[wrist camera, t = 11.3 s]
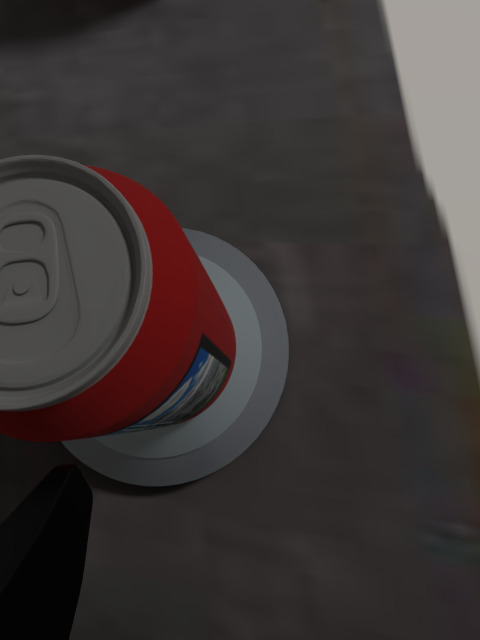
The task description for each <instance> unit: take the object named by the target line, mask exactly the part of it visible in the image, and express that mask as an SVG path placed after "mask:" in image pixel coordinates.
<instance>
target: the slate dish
mask: <svg viewBox="0 0 480 640" xmlns="http://www.w3.org/2000/svg"><path fill="white" fill-rule="evenodd" d="M182 230H183V232H184V233H185V235H186V237H187V239H188V240H189V242H190V244H191V245H192V247H193V249H194V250H195V252H196V254H197V256H198V257H199V259H200V261H201V263H202V265H203V266H204V268H205V270H206V272H207V274H208V275H209V277H210V279H211V281H212V283H213V285H214V286H215V288H216V290H217V292H218V294H219V296H220V298H221V300H222V302H223V304H224V306H225V308H226V310H227V312H228V314H229V316H230V319H231V321H232V324H233V327H234V331H235V337H236V358H235V363H234V368H233V371H232V374H231V377H230V379H229V381H228V383H227V385H226V387H225V389H224V390H223V392H222V393H221V394H220V396H219V397H218V398H217V399H216V401H215V402H214V403H213V404H212V405H211V406H210V407H209V408H207V409H206V410H205V411H204V412H202V413H201V414H199V415H198V416H196V417H194V418H192V419H190V420H188V421H185V422H182V423H179V424H176V425H171V426H166V427H161V428H156V429H150V430H144V431H137V432H131V433H124V434H117V435H110V436H102V437H94V438H85V439H77V440H68V441H61V442H62V443H63V445H64V446H65V447H66V448H67V449H68V450H69V451H70V452H71V453H72V454H73V455H74V456H75V457H77V458H78V459H79V460H80V461H81V462H82V463H84V464H85V465H87V466H89V467H90V468H92V469H93V470H95V471H96V472H98V473H101V474H103V475H105V476H107V477H109V478H112V479H115V480H118V481H121V482H125V483H128V484H135V485H141V486H169V485H176V484H182V483H186V482H189V481H193V480H197V479H200V478H202V477H204V476H206V475H209V474H211V473H213V472H215V471H217V470H219V469H220V468H222V467H224V466H225V465H227V464H229V463H230V462H232V461H233V460H234V459H235V458H237V457H238V456H239V455H240V454H242V453H243V452H244V451H245V450H246V449H247V448H248V447H249V446H250V445H251V444H252V443H253V442H254V441H255V440H256V439H257V437H258V436H259V435H260V434H261V432H262V431H263V429H264V428H265V427H266V425H267V424H268V423H269V421H270V419H271V417H272V415H273V413H274V412H275V410H276V408H277V406H278V403H279V400H280V398H281V395H282V392H283V389H284V385H285V381H286V376H287V369H288V359H289V343H288V333H287V327H286V321H285V318H284V315H283V311H282V308H281V305H280V303H279V301H278V298H277V296H276V294H275V292H274V290H273V288H272V287H271V285H270V284H269V282H268V280H267V279H266V277H265V276H264V275H263V273H262V272H261V271H260V270H259V269H258V268H257V266H256V265H255V264H254V263H253V262H252V261H251V260H250V259H249V258H247V257H246V256H245V255H244V254H243V253H242V252H240V251H239V250H237V249H236V248H234V247H233V246H231V245H230V244H228V243H226V242H224V241H222V240H220V239H218V238H216V237H214V236H211V235H209V234H206V233H203V232H200V231H195V230H190V229H186V228H182Z"/></svg>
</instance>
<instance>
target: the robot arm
mask: <svg viewBox="0 0 480 640" xmlns="http://www.w3.org/2000/svg"><path fill="white" fill-rule="evenodd" d="M92 504H93V494H92V490H91V487H90V486H89V484H88V482H87V480H86V478H85V476H84V474H83V472H82V470H81V468H80V467H79V466H78V465H77V464H68V465H59V466H56V467H55V468H53V469H52V470H51V471H50V472H49V473H48V474H47V476H46V477H45V478H44V479H43V480H42V481H41V482H40V483H39V484H38V485H37V486H36V487H35V488H34V489H33V491H32V492H31V493H30V494H29V495H28V496H27V497H26V498H25V499H24V500H23V501H22V502H21V503H20V504H19V506H18V507H17V508H16V509H15V510H14V511H13V512H12V513H11V514H10V515H9V516H8V517H7V518H6V519H5V521H4V522H3V523H2V524H1V525H0V640H69V637H70V633H71V629H72V624H73V620H74V616H75V612H76V607H77V603H78V599H79V594H80V590H81V585H82V580H83V573H84V566H85V558H86V551H87V543H88V535H89V527H90V520H91V512H92Z"/></svg>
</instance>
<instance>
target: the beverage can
mask: <svg viewBox="0 0 480 640" xmlns="http://www.w3.org/2000/svg"><path fill="white" fill-rule="evenodd" d="M235 358H236V337H235V331H234V327H233V324H232V321H231V319H230V316H229V314H228V312H227V310H226V308H225V306H224V304H223V302H222V300H221V298H220V296H219V294H218V292H217V290H216V288H215V286H214V285H213V283H212V281H211V279H210V277H209V275H208V274H207V272H206V270H205V268H204V266H203V265H202V263H201V261H200V259H199V257H198V256H197V254H196V252H195V250H194V249H193V247H192V245H191V244H190V242H189V240H188V239H187V237H186V235H185V233H184V232H183V230H182V228H181V227H180V225H179V223H178V222H177V220H176V219H175V217H174V216H173V214H172V213H171V212H170V211H169V209H168V208H167V207H166V206H165V205H164V204H163V203H162V202H161V201H160V200H159V199H158V198H157V197H156V196H155V195H154V194H152V193H151V192H150V191H149V190H147V189H146V188H144V187H143V186H142V185H140V184H138V183H137V182H135V181H133V180H131V179H129V178H127V177H125V176H122V175H120V174H118V173H115V172H112V171H109V170H106V169H101V168H97V167H91V166H85V165H82V164H79V163H77V162H74V161H71V160H67V159H64V158H60V157H54V156H45V155H24V156H15V157H10V158H5V159H1V160H0V434H3V435H6V436H8V437H12V438H16V439H20V440H26V441H33V442H60V441H68V440H77V439H85V438H94V437H102V436H110V435H117V434H124V433H131V432H137V431H144V430H150V429H156V428H161V427H166V426H171V425H176V424H179V423H182V422H185V421H188V420H190V419H192V418H194V417H196V416H198V415H199V414H201V413H202V412H204V411H205V410H206V409H207V408H209V407H210V406H211V405H212V404H213V403H214V402H215V401H216V399H217V398H218V397H219V396H220V394H221V393H222V392H223V390H224V389H225V387H226V385H227V383H228V381H229V379H230V377H231V374H232V371H233V368H234V363H235Z"/></svg>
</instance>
